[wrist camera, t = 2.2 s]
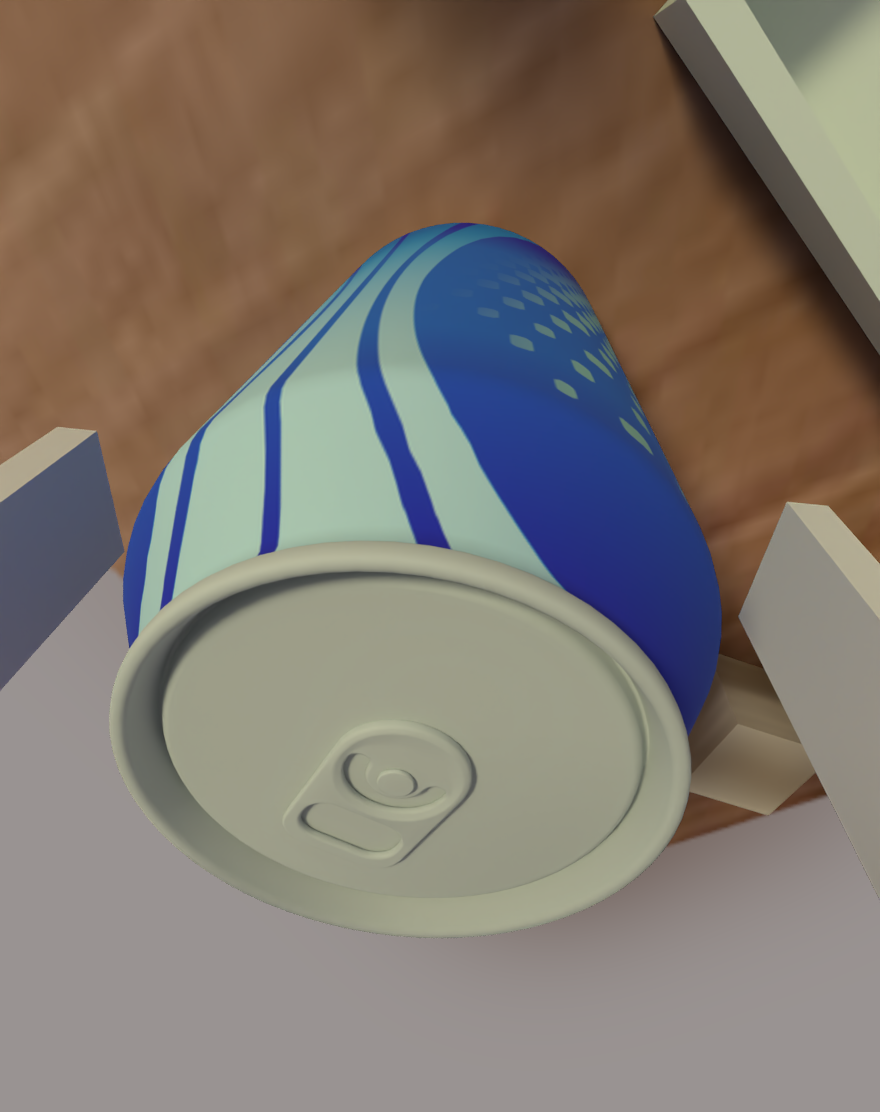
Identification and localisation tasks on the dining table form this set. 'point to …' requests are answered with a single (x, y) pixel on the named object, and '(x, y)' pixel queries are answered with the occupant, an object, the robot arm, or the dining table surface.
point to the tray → (801, 119)
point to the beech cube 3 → (745, 742)
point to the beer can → (421, 609)
